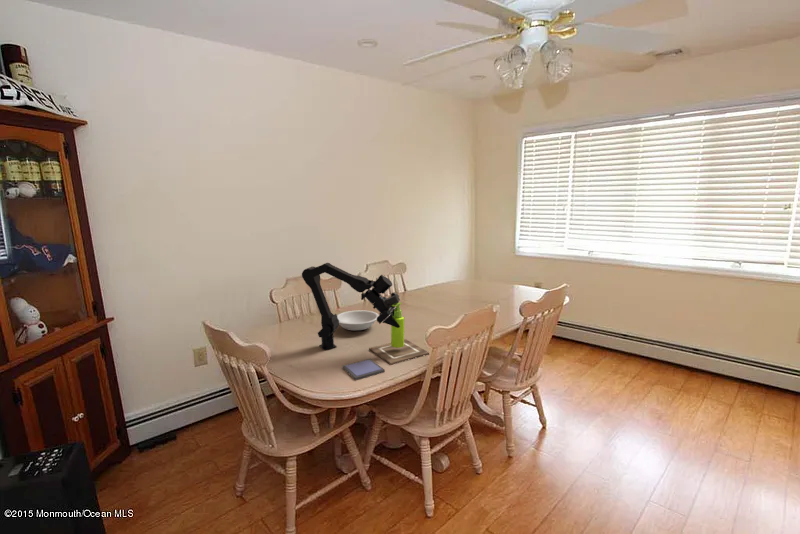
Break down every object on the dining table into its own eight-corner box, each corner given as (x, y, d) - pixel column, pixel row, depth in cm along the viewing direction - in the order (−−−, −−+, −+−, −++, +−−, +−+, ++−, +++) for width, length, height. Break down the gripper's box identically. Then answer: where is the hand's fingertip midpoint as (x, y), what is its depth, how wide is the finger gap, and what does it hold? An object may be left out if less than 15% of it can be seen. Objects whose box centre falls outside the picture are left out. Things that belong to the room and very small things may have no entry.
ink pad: (342, 368, 166) (342, 365, 166) (370, 360, 172) (370, 358, 172) (355, 380, 155) (355, 377, 155) (384, 371, 161) (384, 369, 161)
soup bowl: (343, 320, 228) (343, 309, 227) (384, 322, 223) (383, 311, 222) (327, 334, 205) (327, 322, 204) (372, 337, 200) (372, 325, 199)
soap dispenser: (387, 346, 179) (387, 303, 175) (395, 342, 185) (395, 300, 181) (398, 349, 176) (399, 305, 172) (406, 344, 182) (406, 302, 178)
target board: (369, 349, 185) (369, 347, 185) (405, 340, 195) (405, 338, 195) (390, 364, 168) (390, 362, 168) (429, 354, 178) (429, 352, 178)
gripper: (383, 293, 168) (409, 320, 168) (393, 283, 186) (417, 307, 185) (366, 310, 171) (391, 336, 171) (377, 299, 189) (400, 322, 189)
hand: (400, 325), depth 179 cm, fingers closed on soap dispenser, 6 cm apart
